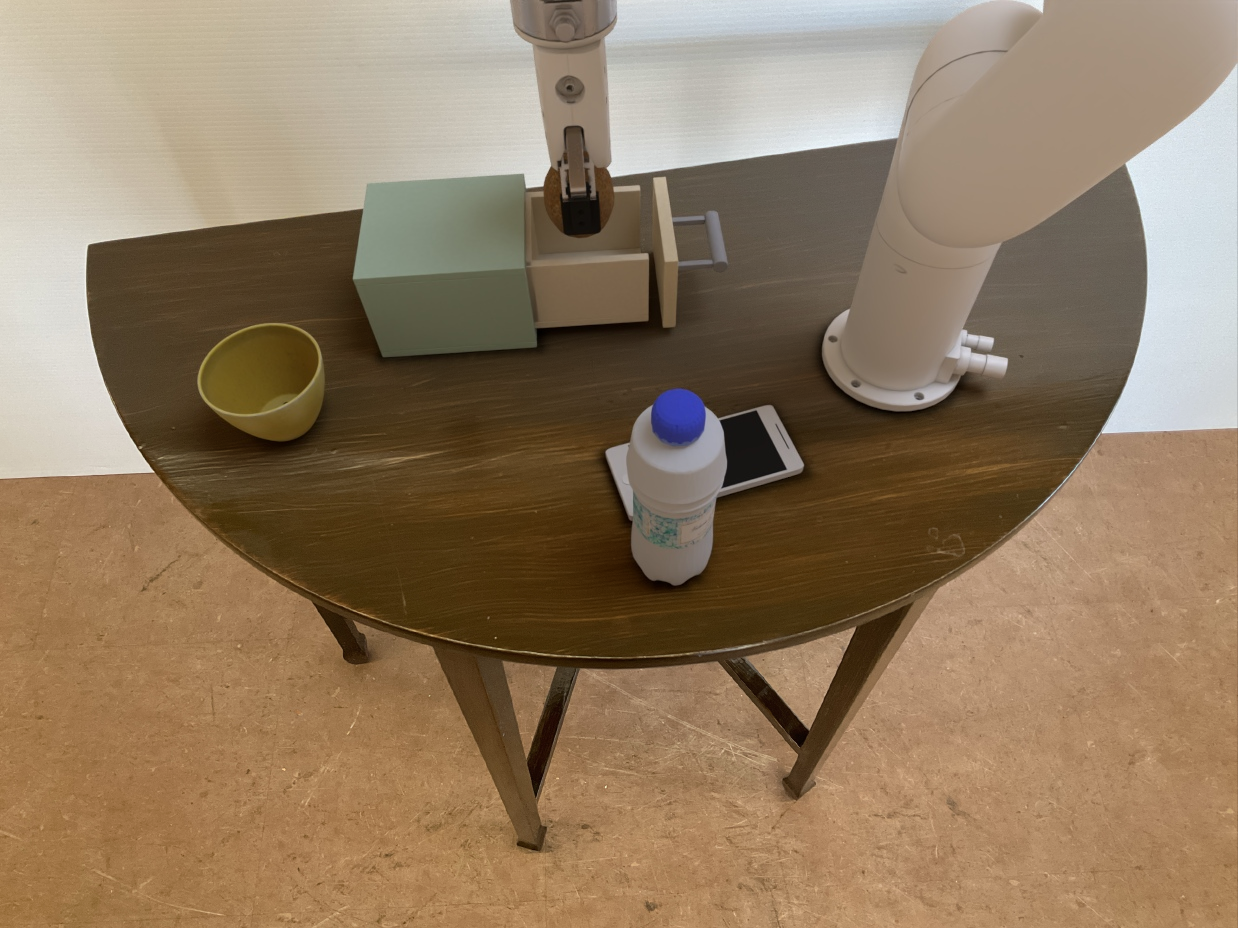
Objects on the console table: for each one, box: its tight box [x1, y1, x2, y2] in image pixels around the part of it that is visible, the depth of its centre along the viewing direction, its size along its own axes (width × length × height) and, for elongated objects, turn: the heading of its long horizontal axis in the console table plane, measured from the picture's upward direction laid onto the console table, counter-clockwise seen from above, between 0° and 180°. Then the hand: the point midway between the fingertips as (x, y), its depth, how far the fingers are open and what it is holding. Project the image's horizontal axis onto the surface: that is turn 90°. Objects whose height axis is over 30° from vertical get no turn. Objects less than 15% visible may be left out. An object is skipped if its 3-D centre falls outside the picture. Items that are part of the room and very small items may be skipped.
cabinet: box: [352, 173, 538, 358], centre depth 80 cm, size 15×13×10 cm
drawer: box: [525, 176, 729, 329], centre depth 80 cm, size 18×11×8 cm, turn 94°
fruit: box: [542, 152, 615, 238], centre depth 74 cm, size 6×6×8 cm
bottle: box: [626, 388, 727, 586], centre depth 60 cm, size 7×7×20 cm
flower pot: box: [197, 322, 326, 442], centre depth 74 cm, size 10×10×7 cm
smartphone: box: [605, 404, 805, 522], centre depth 73 cm, size 7×15×1 cm, turn 108°
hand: (580, 204), depth 75 cm, fingers closed on fruit, 6 cm apart
